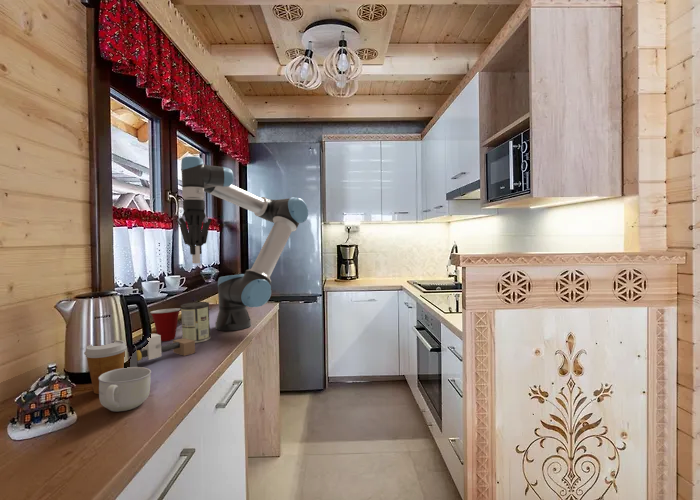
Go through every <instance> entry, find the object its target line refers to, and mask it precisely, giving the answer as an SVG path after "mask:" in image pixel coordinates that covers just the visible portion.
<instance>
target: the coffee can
mask: <svg viewBox="0 0 700 500" xmlns="http://www.w3.org/2000/svg"><path fill="white" fill-rule="evenodd" d="M209 305H210V302H208V301H193V302H186V303H182V304H181V305H180V311H181V312H180V314H181V330H182V331H181V332H182V333H181V334H182V338H186V339H190V340H194V341H195V344H197V343H203V342H206V341H209V340H210V339H211V326H210V325H211V324H210V307H209Z"/></svg>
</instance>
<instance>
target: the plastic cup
mask: <svg viewBox="0 0 700 500" xmlns="http://www.w3.org/2000/svg"><path fill="white" fill-rule="evenodd" d="M180 311H181V308H180V307H179V308H175V307H174V308H164V309H157V310H152V311H150V314H151V317H152V319H153V323H154V327H155V331H156V334H158V335H161V342H169V341H173V340H176V335H177V328H178V320H179V315H180Z"/></svg>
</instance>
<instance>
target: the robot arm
mask: <svg viewBox="0 0 700 500" xmlns="http://www.w3.org/2000/svg"><path fill="white" fill-rule="evenodd" d="M180 166H181V167H180V171H181V172H180V173H181V186H182V187H181V188H182V190H181V191H182V192H181V193H182V199H183V201H182V210H183V212H182V216H181V217H179V218H178V217H177V218H176V222H177V223H178V225H179V228H180V232H181V235H182V239H183V243H184V244H185V245H187V246H189V254H190V255H191V259H192V260H191V261H192V264H193V265H194V264H201V255H202V250H203V249H202V246H204V244H205V245H206V244H207V240H208V234H209V229H210V228H209V227H210V224H211V222H212V219H211V218H208V217H207V215H206V213H205V209H206V203H205V202H206V201H205V200H204V199H205V192H206V193H207V194H209V195H212V196H214V197H217V198H219V199H222V200H224V201H226V202H228V203H230V204H233V205H236V206H237V207H240V208H242V209H245V210H248V211H250V212H252V213H254V215H255V216H256V217H258V218H261V219H262V220H265V221H268V222H271V223H273V224H272V225H273V226H272V228H271V230H270V231H269V233H268V235H267V237H266V238H265V241H264V243H263V245H262V247H261V249H260V250H259V253H258V255H257V256H256V259H255V260H254V263H253V264H252V266H251V268H249V269H246V270H245V272H244V273H240V274H239V273H238V274H234V275H233V274H231V275H225V276H220V277H218V280H217V290H218V291H217V294H218V313H217V316H216V321H215V323H214V324H215V330H217V331H224V332H225V331H227V332H229V331H230V332H231V331H238V330H239V331H240V330H244V329H248V328H250V327H252V320H251V318H250V315H249V312H248V309H247V307H248V308H259V307H262V306H264V305H266V304H267V303H268V301H269V300H270V298H271V296H272V290H271V289H272V286H271V283H272V280H271V276H272V273H273V272H274V269H275V267H276V265H277V263H278V262H279V259H280V257H281V255H282V252H283V250H284V249H285V246H286V245H287V242H288V240H289V238H290V236H291V234H292V232H295V231H297V229H298V227H299V225H300V224H303V223H305V222H306V221H307V219H308V217H309V209H308V206H307V203H306V202H305V201H304V200H303V199H302V198H300V197H290V198H280V199H270V198H267V197H265V196H262V197H260V196H257V195H255V194H254V193H252V192H249V191H247V190H244V189H243V188H240V187H238V186H236V185H234V184H233V182H234V178H235V177H234V173H233V170H232V169H231V168H229V167H225V166H219V165H218V166H217V165H210V164H209V165H208V164H204V159H203V158H202V157H198V156H192V155H191V156H189V155H188V156H184V157H183V158H181V163H180Z"/></svg>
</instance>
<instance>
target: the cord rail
mask: <svg viewBox="0 0 700 500" xmlns="http://www.w3.org/2000/svg"><path fill="white" fill-rule="evenodd" d="M134 346H135V348H136V351H135V352H134V353H133V354H132V356H131V359H130V367H138V362H139V361H141V360H142V359H144V358H143V357H145V358H147V357H146V356H148V352H147V350H144V351H142V350H141V349H138V350H137V346H136V345H134ZM167 351H168V352H169V351H172V353H173V354H177V355H180V356H188V355H192V354H195V353H196V343H195V341H194V340H190V339H186V338H183V337H181V338H177V339H173V340H172V343H168V344H166V345H165V344H164V345H161V353H165V352H167Z"/></svg>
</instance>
